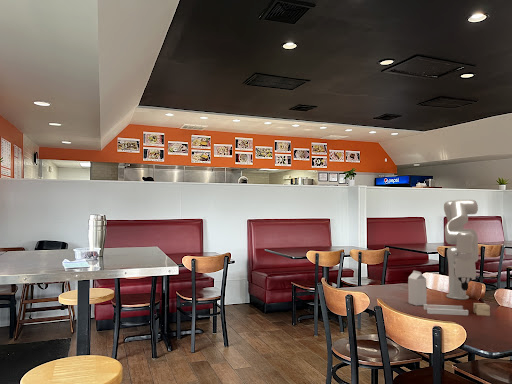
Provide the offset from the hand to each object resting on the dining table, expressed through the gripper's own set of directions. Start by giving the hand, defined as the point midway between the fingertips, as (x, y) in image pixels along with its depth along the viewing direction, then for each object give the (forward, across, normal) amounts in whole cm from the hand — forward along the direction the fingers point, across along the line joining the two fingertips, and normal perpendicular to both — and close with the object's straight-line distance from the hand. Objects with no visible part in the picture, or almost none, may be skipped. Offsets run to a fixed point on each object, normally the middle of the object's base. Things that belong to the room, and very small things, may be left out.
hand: (464, 289), depth 221 cm
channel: (+12, -10, -1) cm, 16 cm away
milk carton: (+13, -21, +15) cm, 29 cm away
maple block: (+12, +8, -1) cm, 15 cm away
